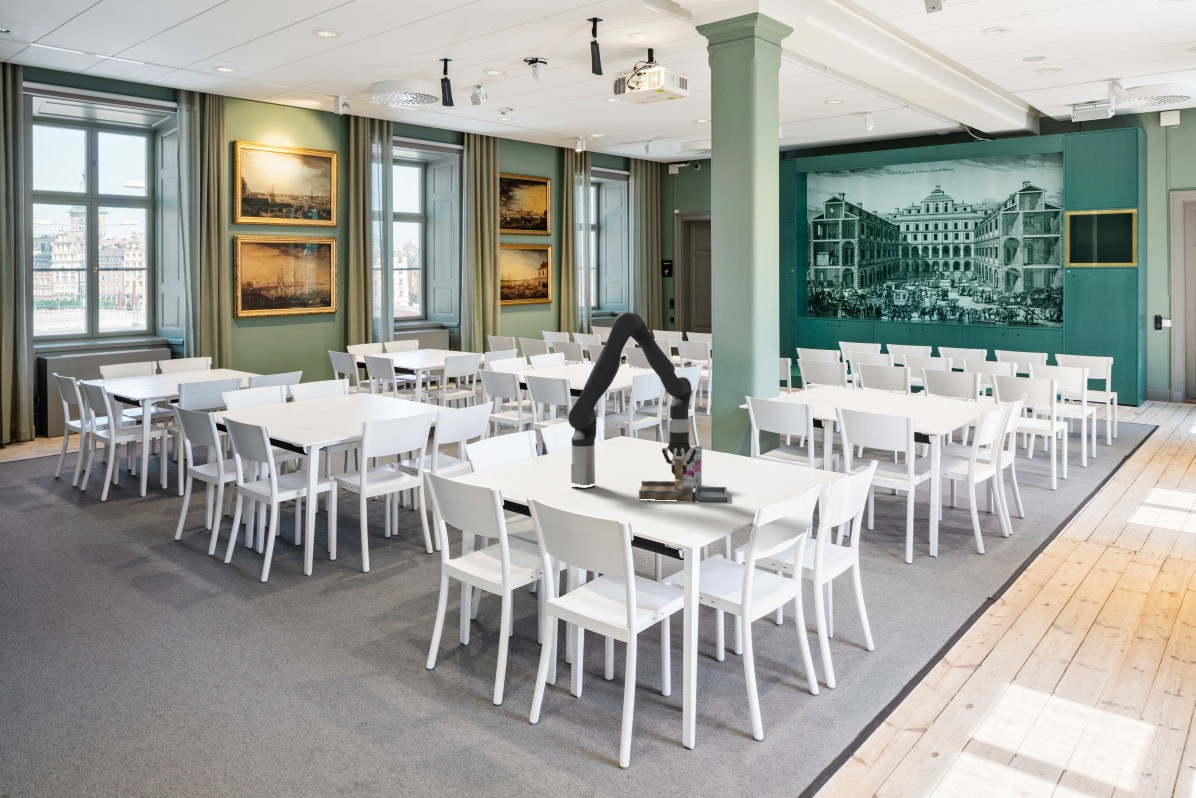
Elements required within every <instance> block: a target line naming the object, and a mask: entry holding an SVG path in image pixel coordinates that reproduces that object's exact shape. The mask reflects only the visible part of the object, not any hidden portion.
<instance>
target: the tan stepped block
mask: <svg viewBox="0 0 1196 798" xmlns="http://www.w3.org/2000/svg"><path fill="white" fill-rule="evenodd" d="M674 481H675V491H683V459H676V460H675V475H674Z"/></svg>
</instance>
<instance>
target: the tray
mask: <svg viewBox="0 0 1196 798" xmlns="http://www.w3.org/2000/svg"><path fill="white" fill-rule="evenodd" d="M694 491H695V492H694V502H695V501H698V502H697V503H728V491H727V486H698V487H694Z"/></svg>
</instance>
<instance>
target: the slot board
mask: <svg viewBox="0 0 1196 798" xmlns="http://www.w3.org/2000/svg"><path fill="white" fill-rule="evenodd" d="M693 496H694V492H693V493H692V491H675V480H673V481H668V480H663V481H662V480H642V481H641V488H640V489H639V490H638V500H639V499H655V500H677V501H692V502H693Z"/></svg>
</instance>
